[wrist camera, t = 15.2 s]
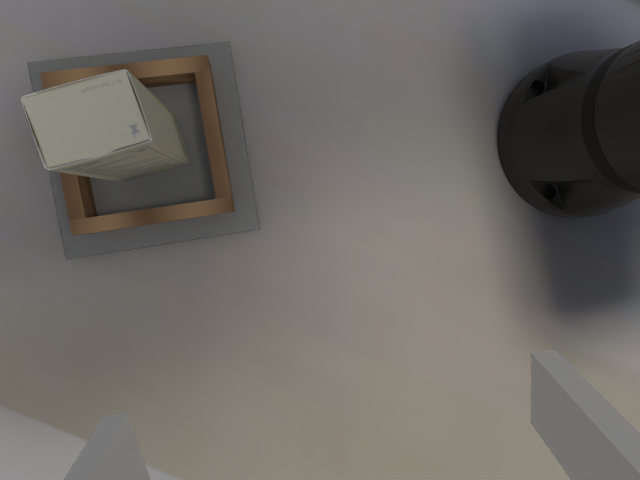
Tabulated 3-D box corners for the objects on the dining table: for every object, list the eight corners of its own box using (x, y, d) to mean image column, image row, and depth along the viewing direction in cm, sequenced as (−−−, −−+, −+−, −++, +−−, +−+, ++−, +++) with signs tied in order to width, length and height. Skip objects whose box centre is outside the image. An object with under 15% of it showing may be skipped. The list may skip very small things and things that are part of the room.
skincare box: (175, 114, 36) (131, 63, 24) (192, 165, 36) (156, 141, 24) (100, 134, 35) (15, 92, 23) (117, 186, 36) (43, 171, 24)
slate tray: (230, 46, 37) (229, 42, 36) (259, 228, 38) (259, 229, 37) (34, 66, 35) (27, 62, 34) (72, 258, 36) (66, 259, 35)
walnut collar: (211, 65, 36) (207, 54, 34) (235, 211, 37) (233, 211, 34) (55, 82, 34) (39, 72, 32) (85, 234, 35) (72, 235, 33)
